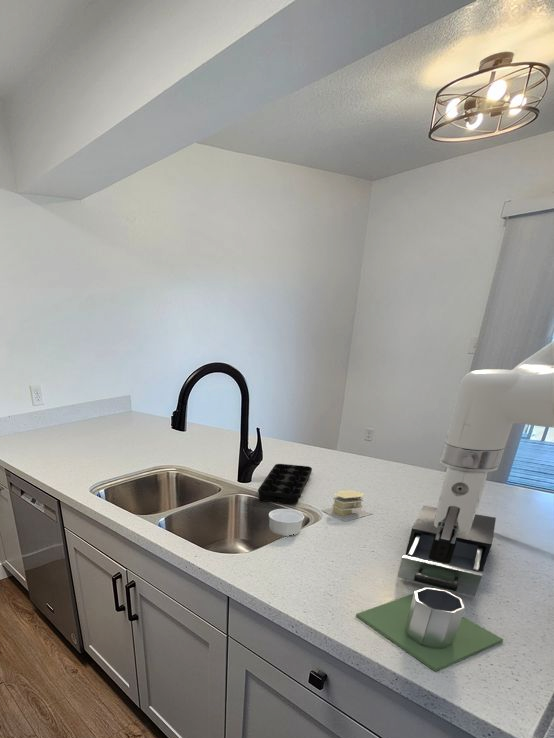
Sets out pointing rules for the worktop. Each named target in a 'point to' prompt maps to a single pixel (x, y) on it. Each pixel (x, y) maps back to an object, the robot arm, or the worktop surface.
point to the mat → (393, 627)
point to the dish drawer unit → (478, 533)
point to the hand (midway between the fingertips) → (439, 559)
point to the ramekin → (285, 521)
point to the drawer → (443, 566)
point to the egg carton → (284, 483)
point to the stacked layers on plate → (347, 506)
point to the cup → (434, 617)
